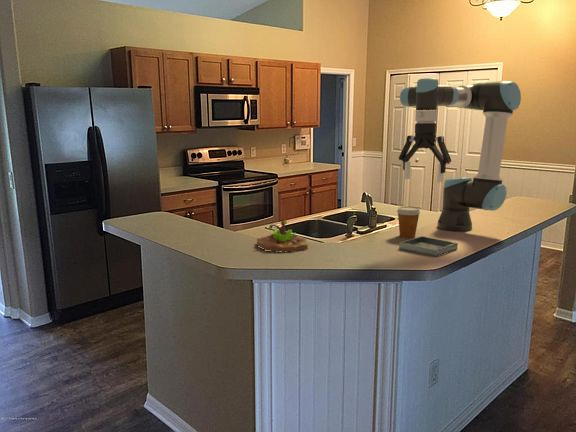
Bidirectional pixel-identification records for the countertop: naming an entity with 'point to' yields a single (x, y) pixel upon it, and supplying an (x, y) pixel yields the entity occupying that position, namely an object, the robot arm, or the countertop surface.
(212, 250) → the countertop surface
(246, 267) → the countertop surface
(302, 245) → the plant
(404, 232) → the disposable coffee cup
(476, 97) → the robot arm
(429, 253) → the grey square tray
